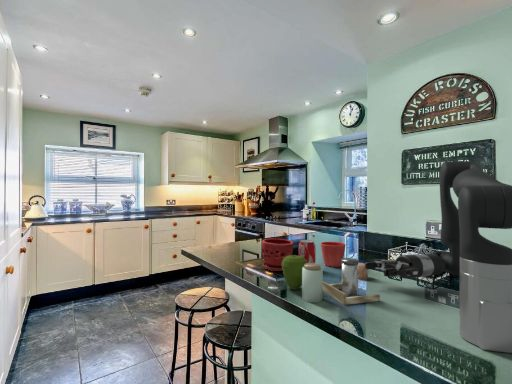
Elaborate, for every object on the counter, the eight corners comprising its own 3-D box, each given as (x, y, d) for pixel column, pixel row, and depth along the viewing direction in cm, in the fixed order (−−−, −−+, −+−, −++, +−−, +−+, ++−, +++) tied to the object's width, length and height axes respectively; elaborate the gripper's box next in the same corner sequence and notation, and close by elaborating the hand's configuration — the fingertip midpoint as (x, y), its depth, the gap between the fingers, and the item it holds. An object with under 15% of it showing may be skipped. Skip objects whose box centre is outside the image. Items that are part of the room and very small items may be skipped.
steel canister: (359, 299, 81) (359, 262, 82) (341, 297, 83) (342, 261, 83) (357, 293, 86) (357, 258, 86) (340, 292, 87) (340, 257, 88)
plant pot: (261, 273, 108) (261, 242, 108) (262, 265, 121) (262, 237, 121) (294, 274, 107) (294, 243, 107) (291, 265, 120) (292, 238, 120)
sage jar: (322, 303, 78) (322, 268, 78) (301, 301, 79) (301, 266, 79) (322, 296, 84) (322, 263, 84) (302, 294, 85) (302, 262, 85)
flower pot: (315, 263, 125) (315, 242, 125) (334, 261, 130) (334, 240, 130) (331, 269, 115) (331, 246, 115) (350, 266, 120) (350, 244, 120)
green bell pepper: (313, 289, 90) (313, 254, 90) (296, 295, 84) (297, 257, 84) (292, 282, 96) (292, 250, 96) (276, 288, 90) (276, 253, 90)
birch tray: (353, 287, 92) (353, 278, 92) (379, 300, 80) (379, 290, 80) (321, 290, 88) (321, 281, 89) (344, 305, 77) (344, 294, 77)
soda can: (315, 272, 110) (315, 242, 110) (297, 271, 111) (298, 241, 112) (315, 267, 117) (315, 239, 117) (298, 266, 118) (298, 239, 119)
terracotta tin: (369, 280, 100) (369, 266, 100) (352, 279, 102) (352, 265, 102) (366, 276, 106) (366, 263, 106) (350, 274, 107) (350, 262, 108)
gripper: (397, 250, 99) (360, 253, 94) (433, 259, 85) (392, 262, 81) (397, 271, 99) (360, 274, 94) (433, 283, 85) (392, 288, 80)
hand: (374, 269), depth 87 cm, fingers open, 8 cm apart
